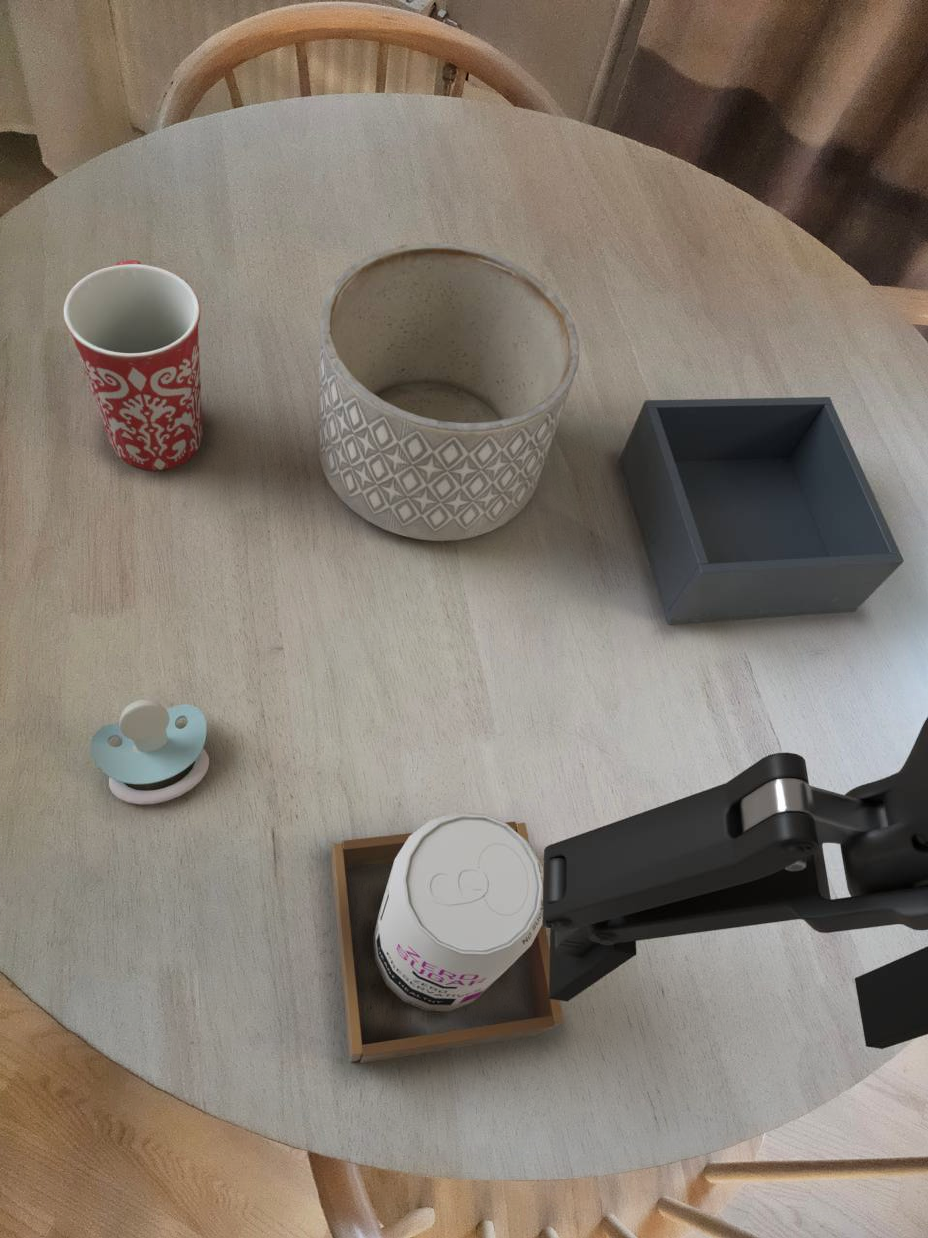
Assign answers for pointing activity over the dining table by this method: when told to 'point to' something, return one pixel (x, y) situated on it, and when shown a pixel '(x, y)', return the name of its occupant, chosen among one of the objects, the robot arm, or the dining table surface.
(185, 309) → the mug
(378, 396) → the planter
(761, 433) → the grey storage bin
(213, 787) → the dining table surface
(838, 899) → the robot arm
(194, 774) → the pacifier
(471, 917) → the supplement can
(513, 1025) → the box
